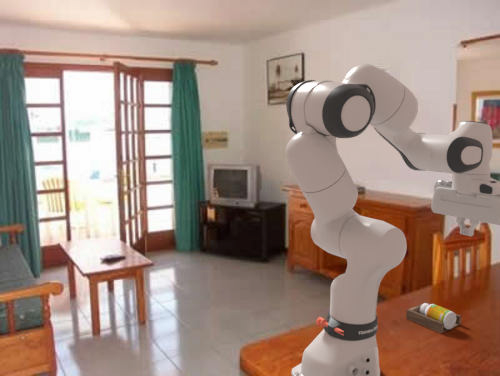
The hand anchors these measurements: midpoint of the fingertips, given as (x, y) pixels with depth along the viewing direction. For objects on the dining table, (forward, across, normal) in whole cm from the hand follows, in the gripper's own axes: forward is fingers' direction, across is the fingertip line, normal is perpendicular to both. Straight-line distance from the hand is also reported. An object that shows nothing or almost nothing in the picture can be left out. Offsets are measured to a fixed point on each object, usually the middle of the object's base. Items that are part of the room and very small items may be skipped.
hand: (466, 235), depth 120 cm
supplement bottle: (+28, -6, +6) cm, 29 cm away
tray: (+31, -12, +7) cm, 34 cm away
